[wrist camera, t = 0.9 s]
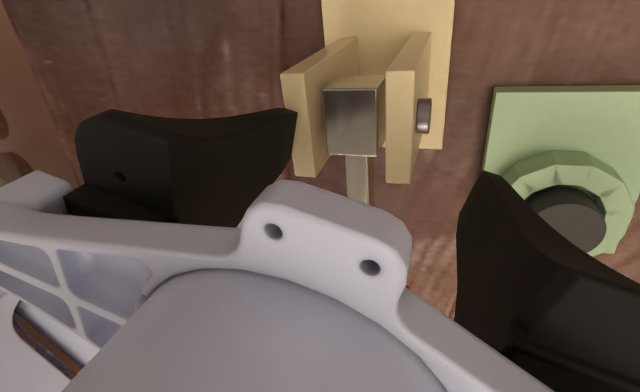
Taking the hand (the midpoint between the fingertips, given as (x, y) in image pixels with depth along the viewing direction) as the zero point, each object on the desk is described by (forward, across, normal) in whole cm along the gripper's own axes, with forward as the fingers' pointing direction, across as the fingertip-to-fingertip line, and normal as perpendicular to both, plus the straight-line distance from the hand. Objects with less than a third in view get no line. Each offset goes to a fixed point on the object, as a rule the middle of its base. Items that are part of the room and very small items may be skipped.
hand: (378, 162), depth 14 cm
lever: (+3, 0, +4) cm, 5 cm away
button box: (+10, -10, +2) cm, 14 cm away
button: (+8, -10, +4) cm, 13 cm away
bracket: (+10, +2, -1) cm, 10 cm away
